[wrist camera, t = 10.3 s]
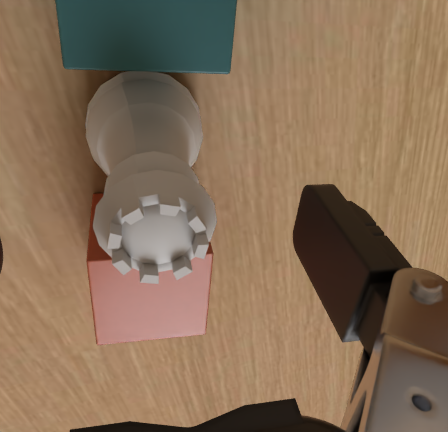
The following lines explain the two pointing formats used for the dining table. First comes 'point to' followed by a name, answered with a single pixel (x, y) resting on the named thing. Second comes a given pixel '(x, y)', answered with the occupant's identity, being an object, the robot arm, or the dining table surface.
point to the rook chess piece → (149, 175)
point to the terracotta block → (145, 298)
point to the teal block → (147, 35)
